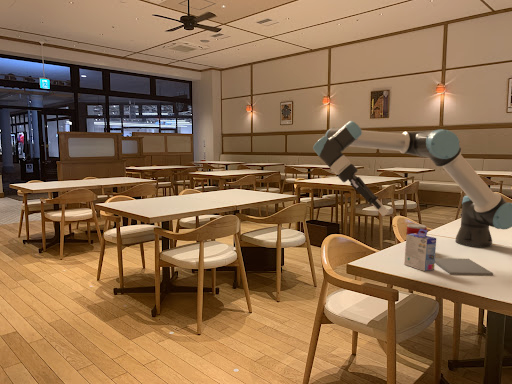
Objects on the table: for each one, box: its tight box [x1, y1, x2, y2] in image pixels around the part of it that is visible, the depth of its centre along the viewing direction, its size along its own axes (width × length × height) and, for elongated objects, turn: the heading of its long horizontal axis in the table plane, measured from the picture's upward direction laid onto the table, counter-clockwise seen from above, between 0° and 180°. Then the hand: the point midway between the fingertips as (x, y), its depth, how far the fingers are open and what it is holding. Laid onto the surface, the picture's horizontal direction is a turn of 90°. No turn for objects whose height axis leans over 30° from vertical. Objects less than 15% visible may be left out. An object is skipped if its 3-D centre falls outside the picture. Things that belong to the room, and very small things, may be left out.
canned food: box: [406, 223, 428, 235], centre depth 174 cm, size 8×8×11 cm
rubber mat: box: [434, 257, 494, 276], centre depth 149 cm, size 15×18×1 cm
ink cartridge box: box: [403, 229, 437, 272], centre depth 148 cm, size 10×6×14 cm, turn 27°
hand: (386, 213), depth 152 cm, fingers closed
